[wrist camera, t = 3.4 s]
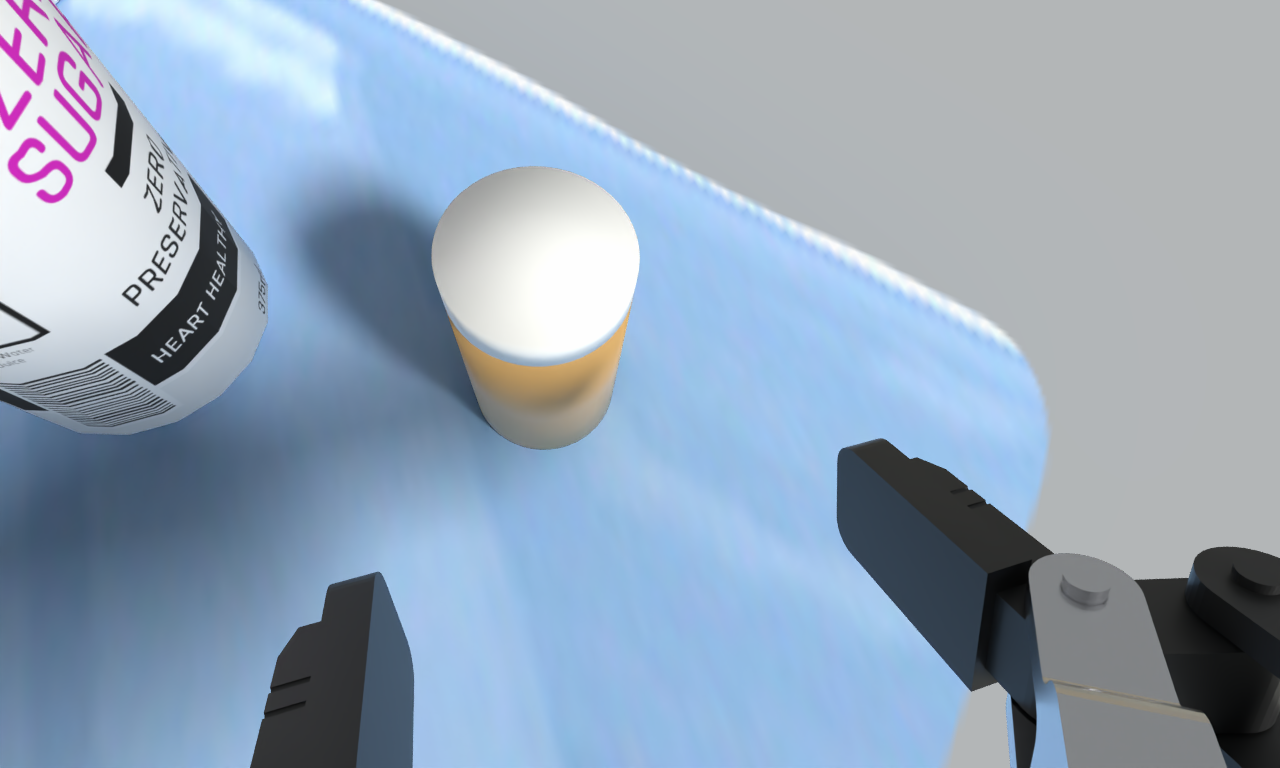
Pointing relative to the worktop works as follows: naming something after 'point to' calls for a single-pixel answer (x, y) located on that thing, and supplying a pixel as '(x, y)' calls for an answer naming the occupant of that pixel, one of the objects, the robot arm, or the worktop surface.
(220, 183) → the worktop surface
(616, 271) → the pill bottle
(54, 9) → the supplement can
